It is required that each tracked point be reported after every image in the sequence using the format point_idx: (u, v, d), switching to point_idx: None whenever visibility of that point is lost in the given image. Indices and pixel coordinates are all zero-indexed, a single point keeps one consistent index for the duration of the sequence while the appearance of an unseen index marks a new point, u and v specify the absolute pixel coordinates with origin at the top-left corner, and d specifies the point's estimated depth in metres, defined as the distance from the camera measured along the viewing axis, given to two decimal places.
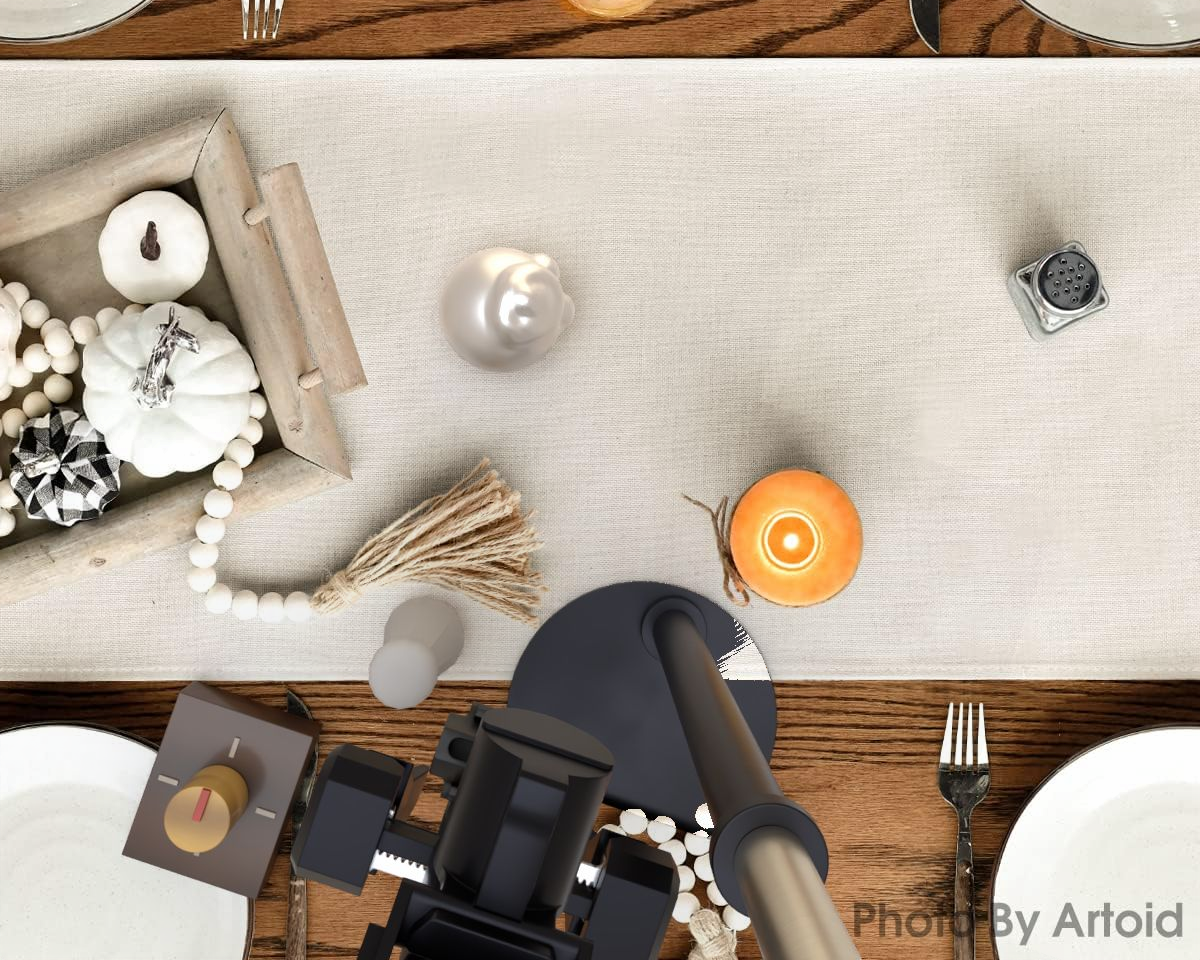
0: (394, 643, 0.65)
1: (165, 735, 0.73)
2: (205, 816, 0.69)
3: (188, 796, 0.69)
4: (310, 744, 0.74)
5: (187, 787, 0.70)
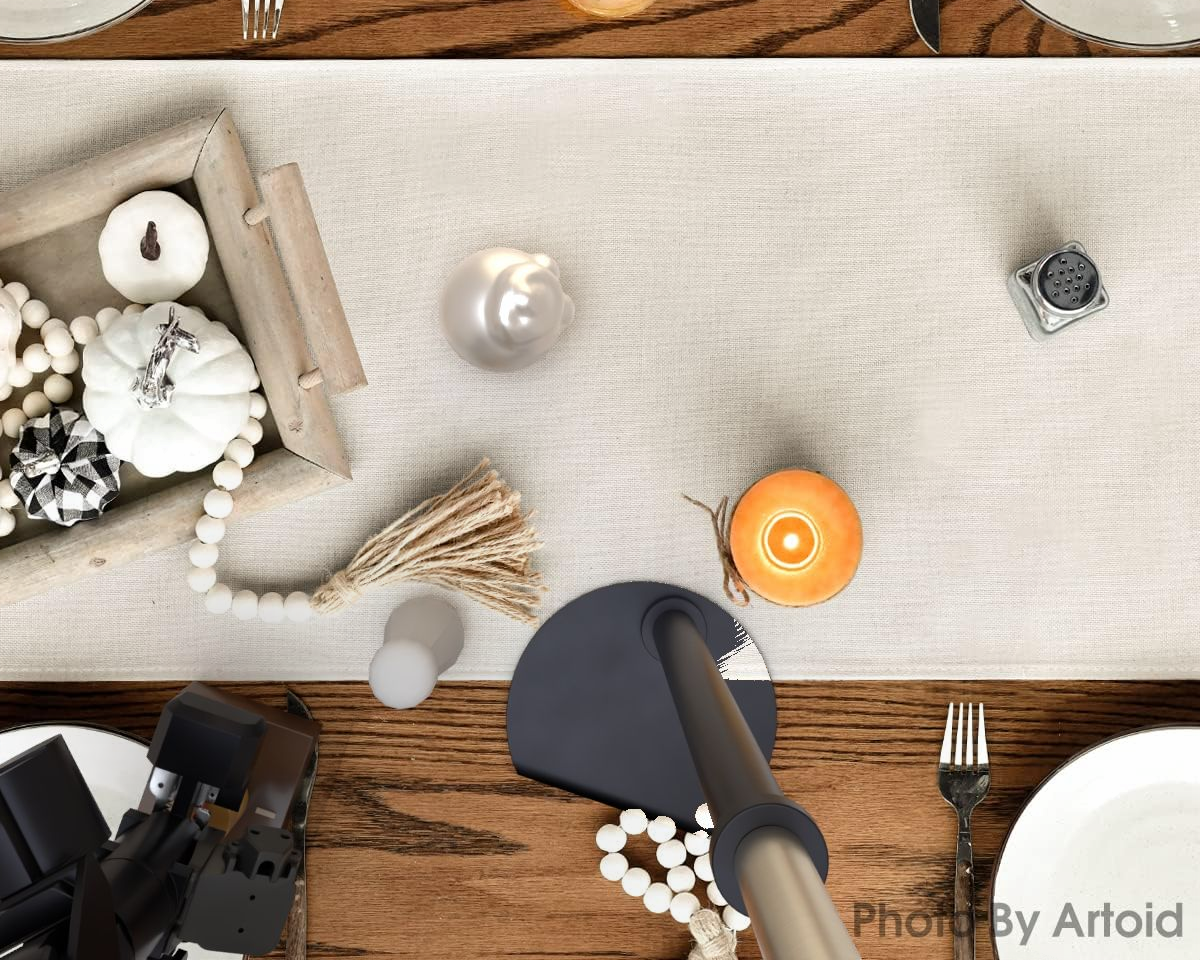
0: (394, 643, 0.65)
1: None
2: None
3: None
4: (310, 744, 0.74)
5: None
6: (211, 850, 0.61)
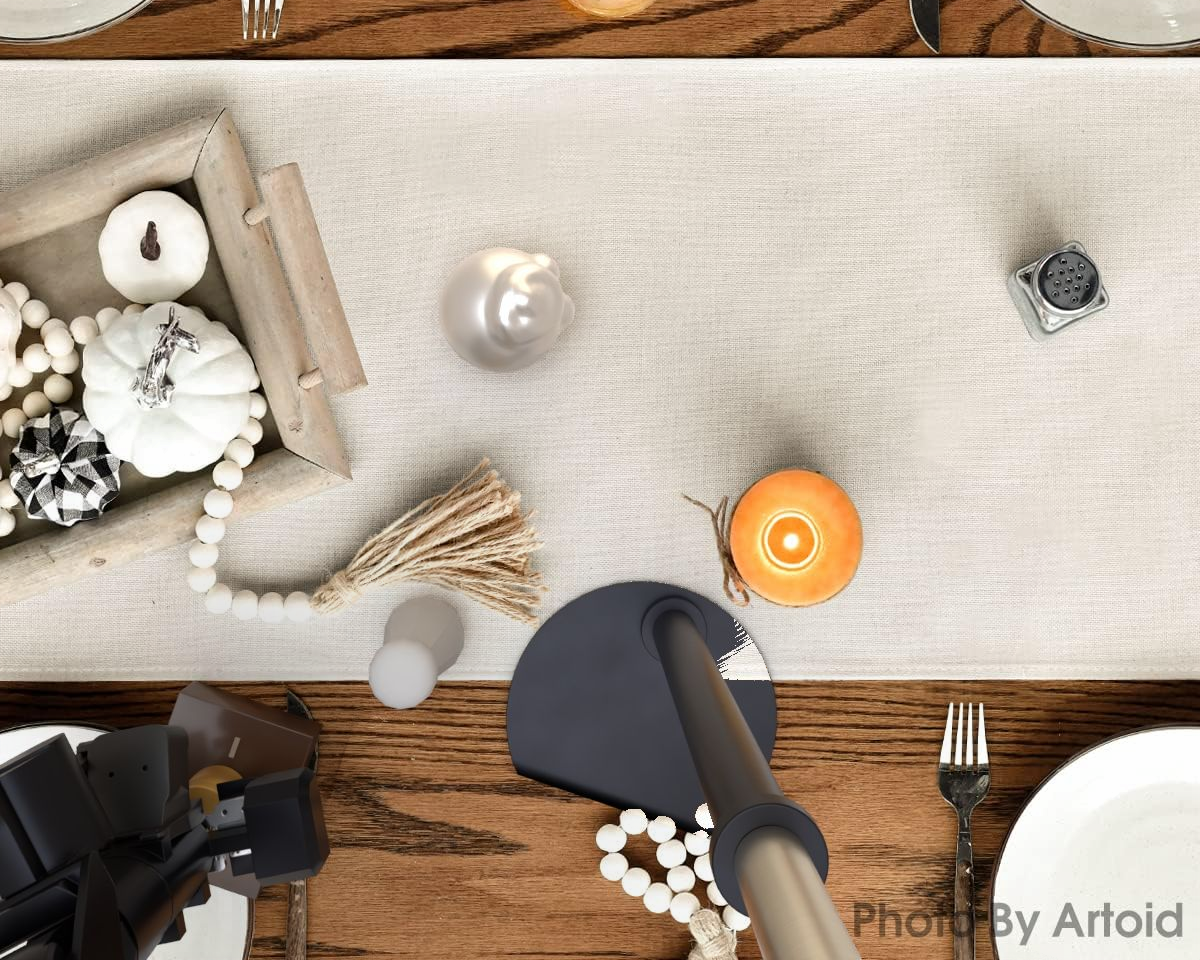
0: (394, 643, 0.65)
1: None
2: None
3: None
4: (310, 744, 0.74)
5: None
6: None
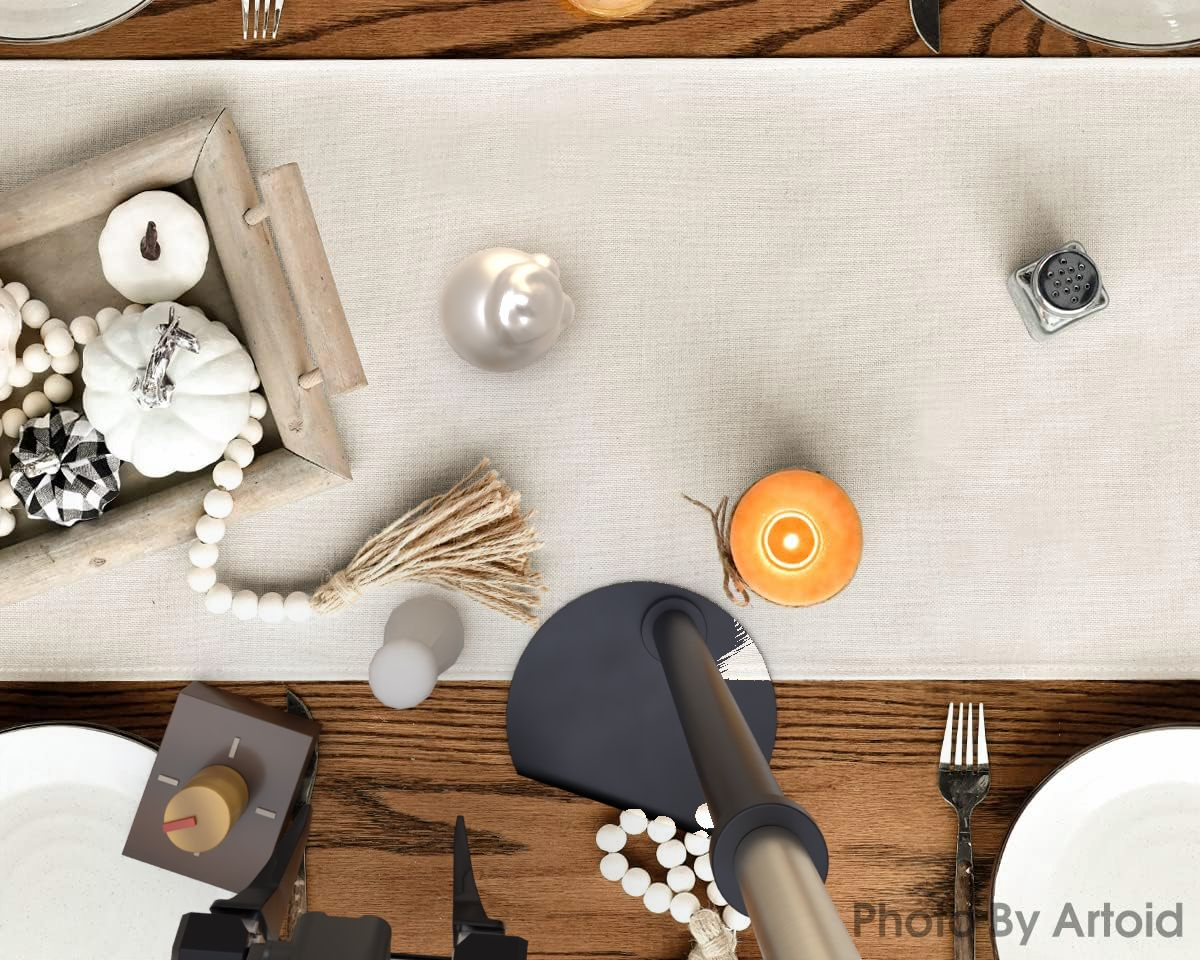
0: (394, 643, 0.65)
1: (165, 735, 0.73)
2: (190, 814, 0.69)
3: (180, 839, 0.69)
4: (310, 744, 0.74)
5: None
6: None
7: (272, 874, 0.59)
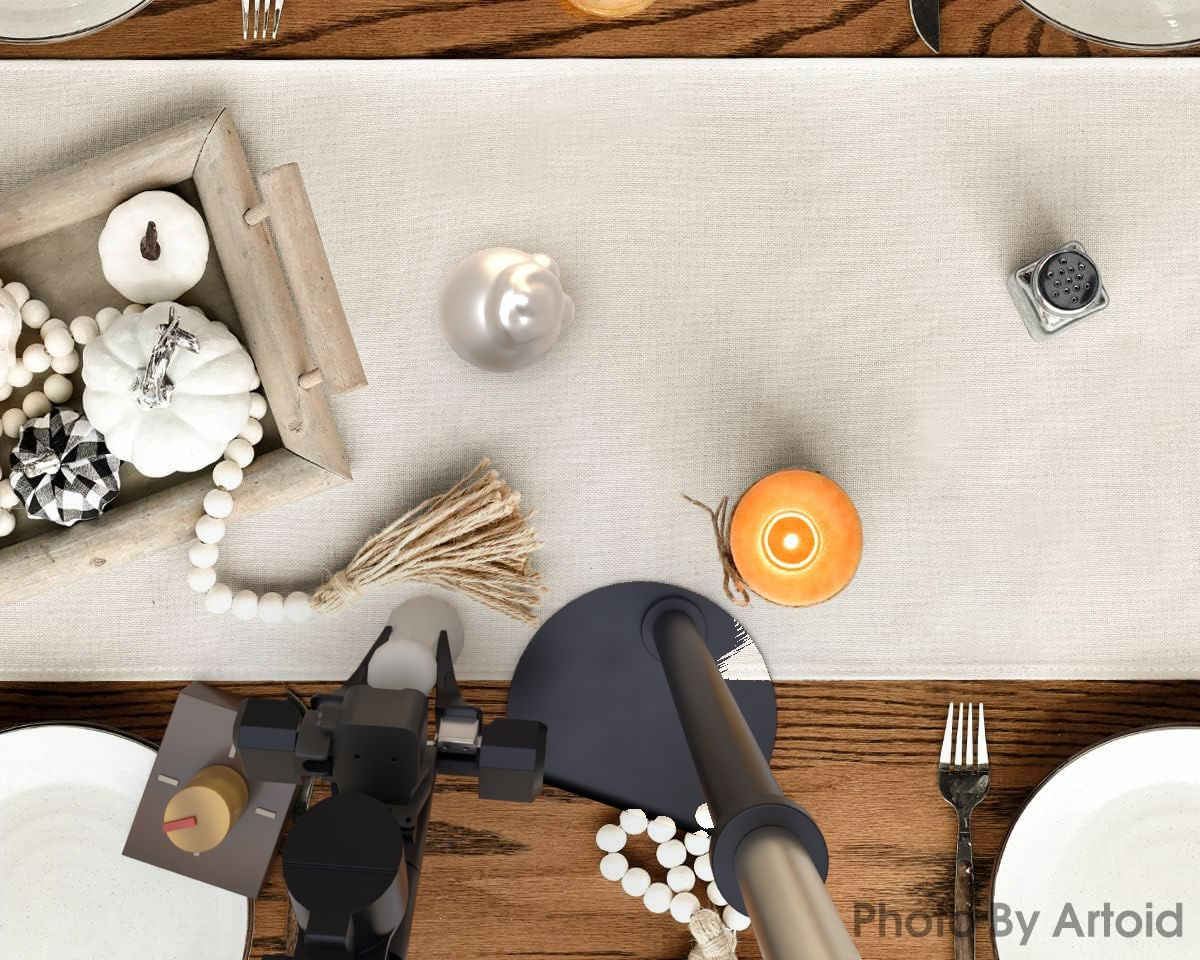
0: (393, 643, 0.65)
1: (165, 735, 0.73)
2: (190, 814, 0.69)
3: (180, 839, 0.69)
4: None
5: None
6: None
7: (362, 678, 0.66)
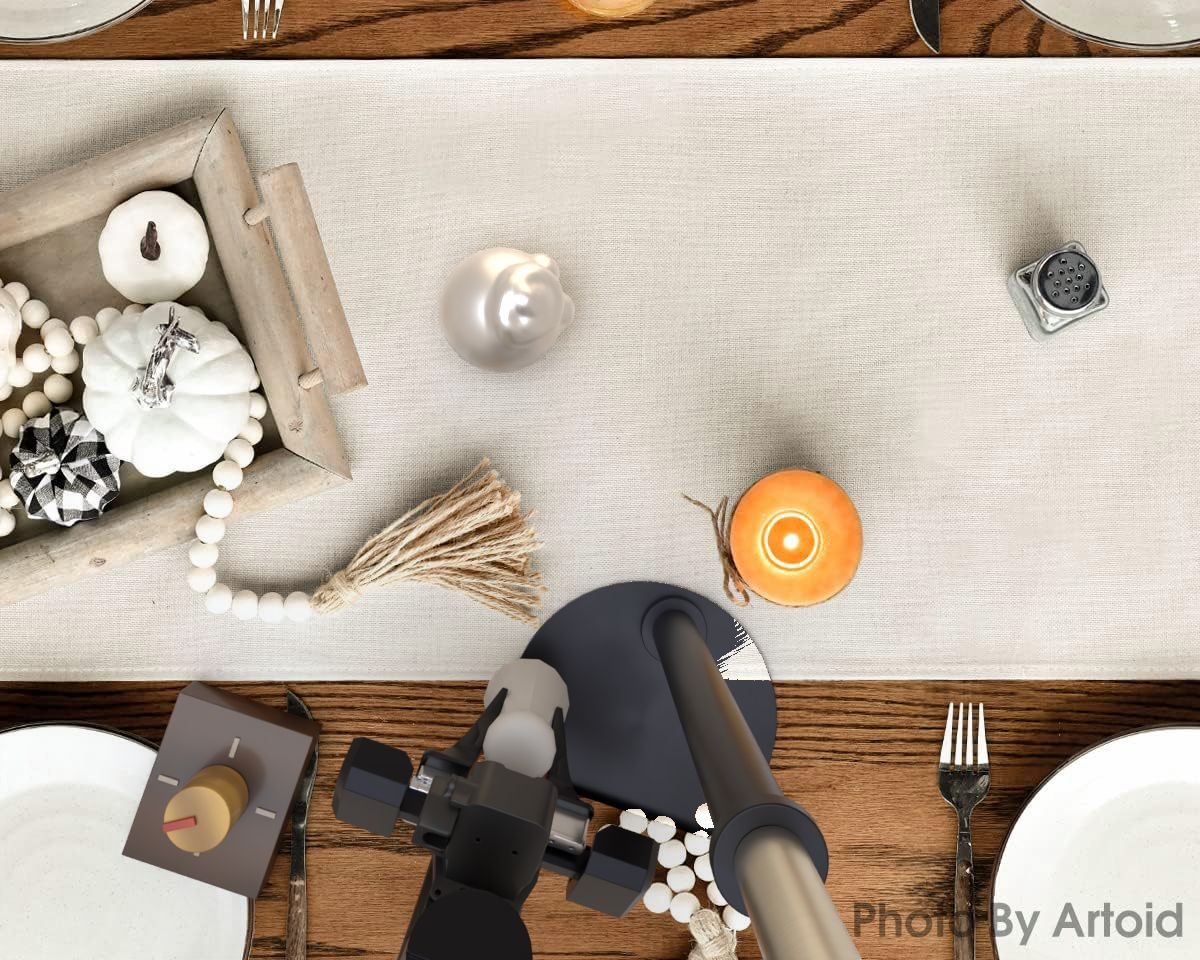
0: (519, 715, 0.61)
1: (165, 735, 0.73)
2: (190, 814, 0.69)
3: (180, 839, 0.69)
4: (310, 744, 0.74)
5: None
6: None
7: (474, 741, 0.63)
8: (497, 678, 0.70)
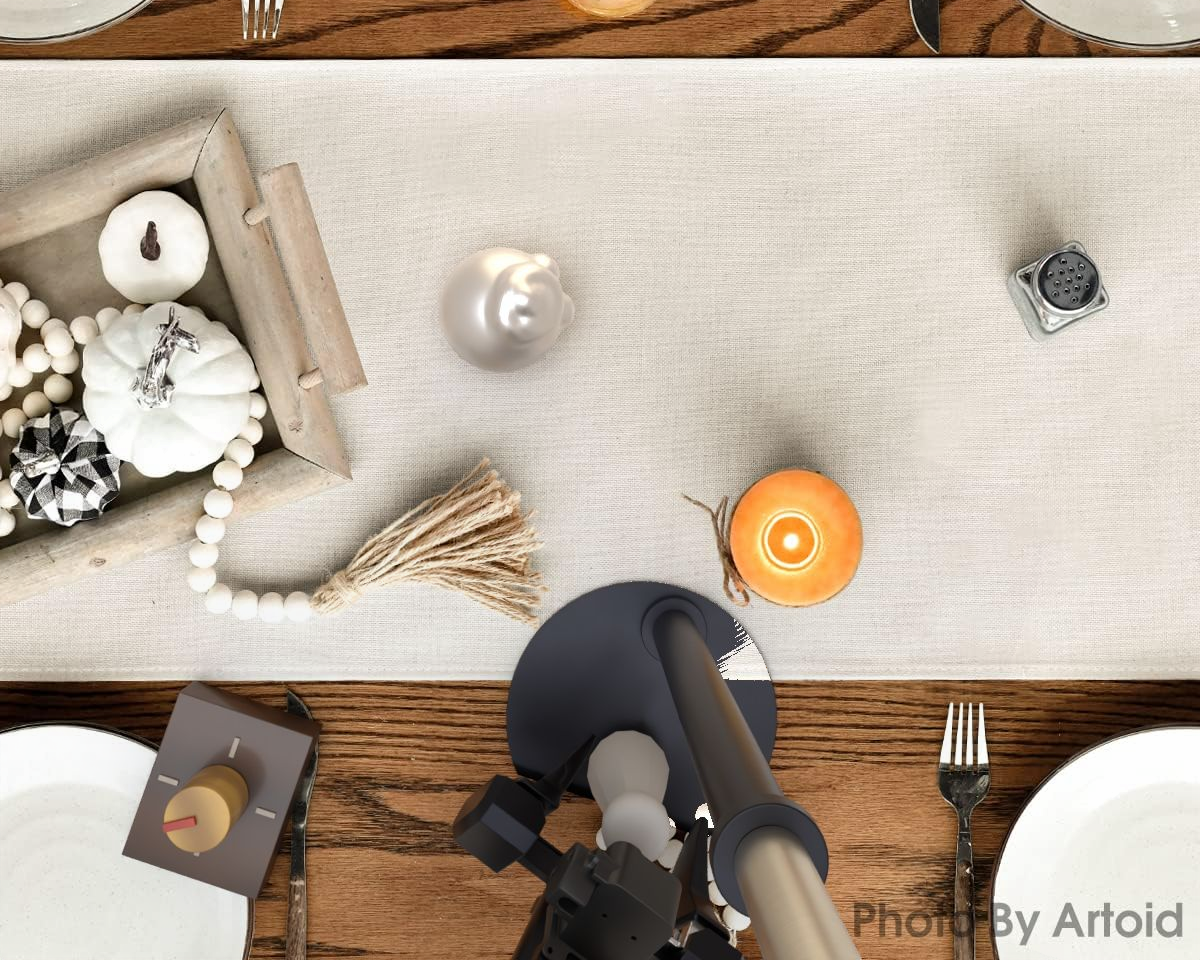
0: (646, 800, 0.64)
1: (165, 735, 0.73)
2: (190, 814, 0.69)
3: (180, 839, 0.69)
4: (310, 744, 0.74)
5: None
6: (553, 909, 0.59)
7: (561, 780, 0.65)
8: (610, 744, 0.73)
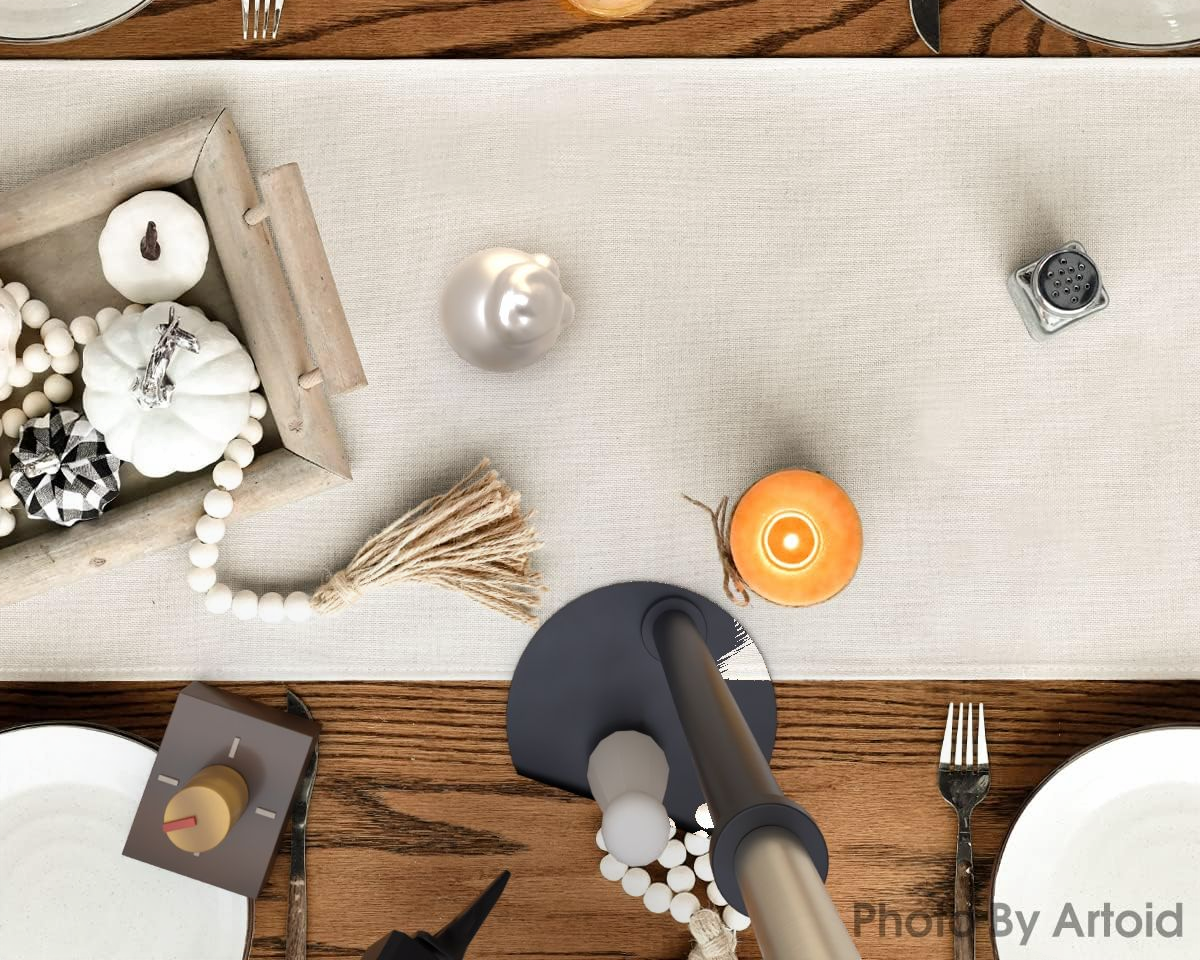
0: (646, 800, 0.64)
1: (165, 735, 0.73)
2: (190, 814, 0.69)
3: (180, 839, 0.69)
4: (310, 744, 0.74)
5: None
6: None
7: (467, 928, 0.61)
8: (610, 744, 0.73)
